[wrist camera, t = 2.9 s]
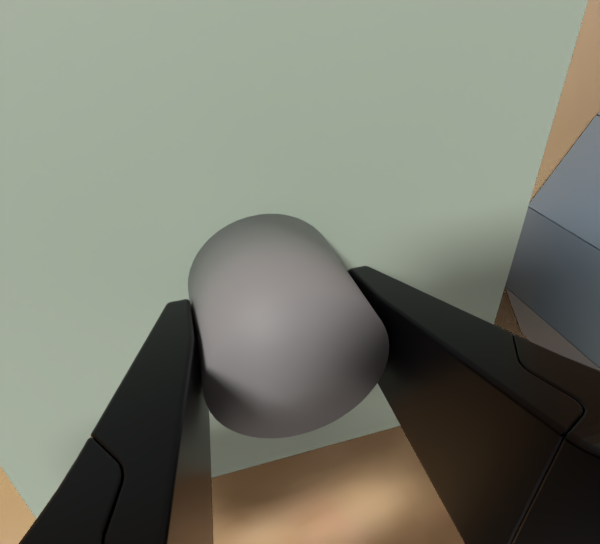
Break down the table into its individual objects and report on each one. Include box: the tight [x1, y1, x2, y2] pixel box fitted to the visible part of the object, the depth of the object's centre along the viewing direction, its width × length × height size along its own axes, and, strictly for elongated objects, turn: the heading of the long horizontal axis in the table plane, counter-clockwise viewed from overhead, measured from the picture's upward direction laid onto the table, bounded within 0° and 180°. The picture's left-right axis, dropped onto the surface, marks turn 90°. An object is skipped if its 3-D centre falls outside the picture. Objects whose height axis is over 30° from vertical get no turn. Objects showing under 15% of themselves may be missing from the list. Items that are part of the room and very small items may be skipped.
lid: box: [0, 0, 588, 519], centre depth 9 cm, size 13×13×4 cm
